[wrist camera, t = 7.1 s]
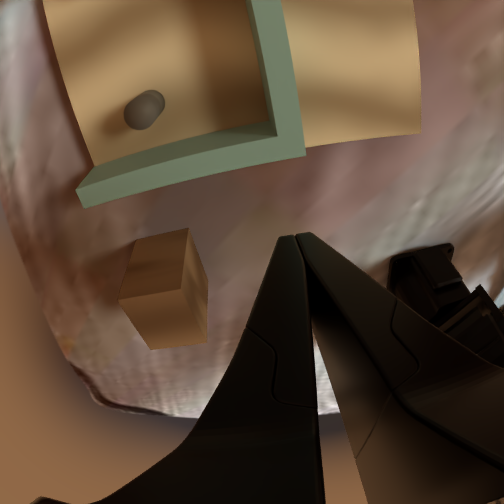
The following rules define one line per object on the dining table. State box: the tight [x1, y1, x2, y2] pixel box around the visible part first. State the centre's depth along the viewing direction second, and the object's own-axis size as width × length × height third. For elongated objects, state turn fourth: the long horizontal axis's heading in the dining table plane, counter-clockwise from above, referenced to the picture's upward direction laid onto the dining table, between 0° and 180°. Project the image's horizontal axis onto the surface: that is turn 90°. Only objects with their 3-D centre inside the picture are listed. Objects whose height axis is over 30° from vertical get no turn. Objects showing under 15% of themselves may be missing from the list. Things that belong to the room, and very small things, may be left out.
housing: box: [75, 0, 306, 209], centre depth 11 cm, size 16×12×3 cm
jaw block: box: [117, 228, 208, 350], centre depth 21 cm, size 5×4×6 cm
